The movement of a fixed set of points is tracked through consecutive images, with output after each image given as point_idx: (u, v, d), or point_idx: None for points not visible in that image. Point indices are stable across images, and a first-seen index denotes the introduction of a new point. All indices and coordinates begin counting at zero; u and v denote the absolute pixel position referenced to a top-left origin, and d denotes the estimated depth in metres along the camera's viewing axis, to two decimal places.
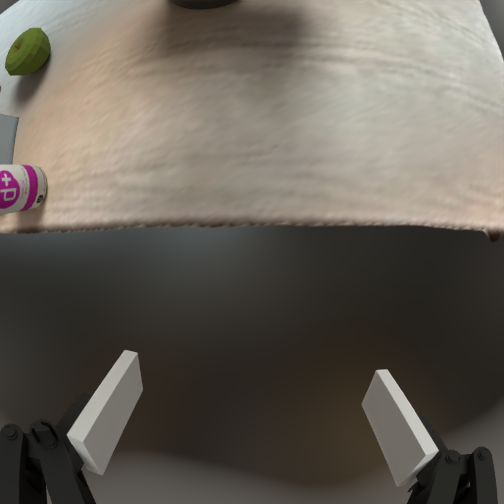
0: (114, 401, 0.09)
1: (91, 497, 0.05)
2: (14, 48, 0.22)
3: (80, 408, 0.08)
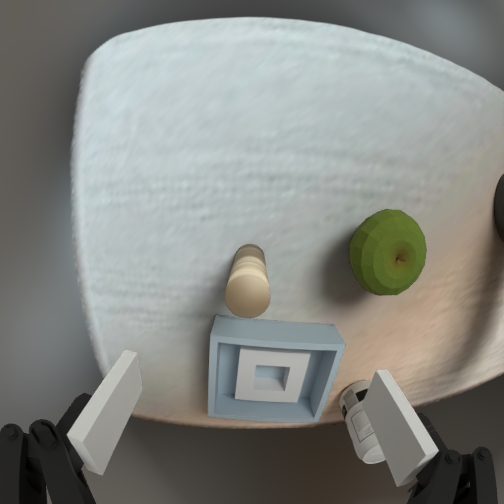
0: (114, 401, 0.09)
1: (91, 497, 0.05)
2: (391, 255, 0.28)
3: (80, 408, 0.08)
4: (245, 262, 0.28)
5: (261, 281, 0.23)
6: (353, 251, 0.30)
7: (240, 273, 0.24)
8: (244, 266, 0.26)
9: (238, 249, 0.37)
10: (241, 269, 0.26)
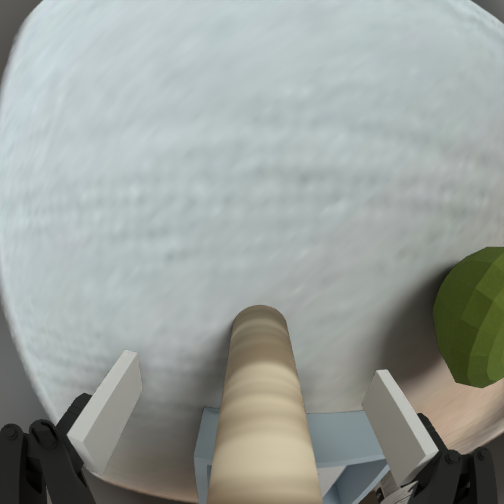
0: (114, 401, 0.09)
1: (91, 497, 0.05)
2: None
3: (80, 408, 0.08)
4: (256, 396, 0.10)
5: (305, 492, 0.06)
6: (458, 328, 0.12)
7: (245, 464, 0.07)
8: (254, 421, 0.09)
9: (238, 315, 0.19)
10: (247, 438, 0.08)
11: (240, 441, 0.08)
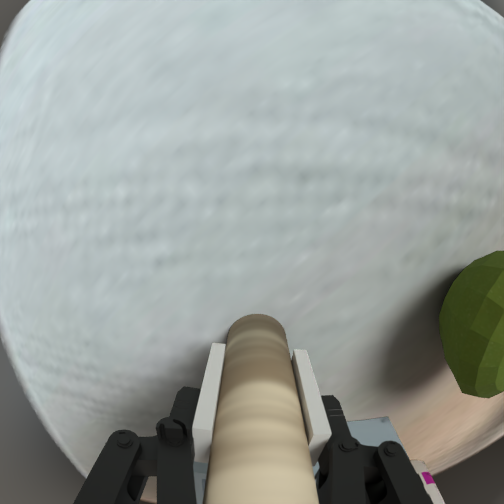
0: (219, 390, 0.12)
1: None
2: None
3: (186, 401, 0.11)
4: (252, 422, 0.09)
5: None
6: (468, 338, 0.11)
7: (239, 499, 0.05)
8: (250, 451, 0.07)
9: (233, 324, 0.18)
10: (242, 470, 0.06)
11: (234, 473, 0.06)
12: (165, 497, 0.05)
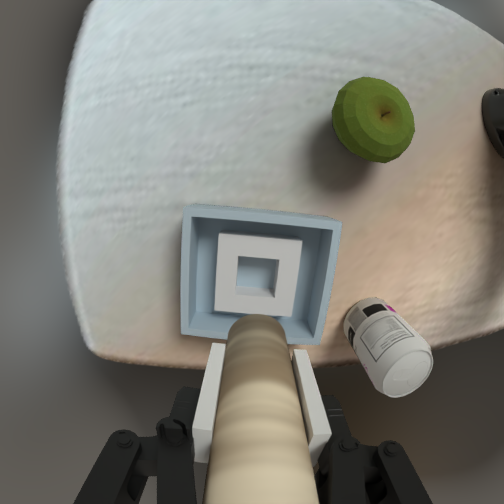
0: (219, 390, 0.12)
1: None
2: (374, 108, 0.24)
3: (186, 401, 0.11)
4: (251, 422, 0.09)
5: None
6: (334, 110, 0.27)
7: (239, 499, 0.05)
8: (250, 451, 0.07)
9: (233, 324, 0.18)
10: (241, 470, 0.06)
11: (234, 473, 0.06)
12: (165, 497, 0.05)
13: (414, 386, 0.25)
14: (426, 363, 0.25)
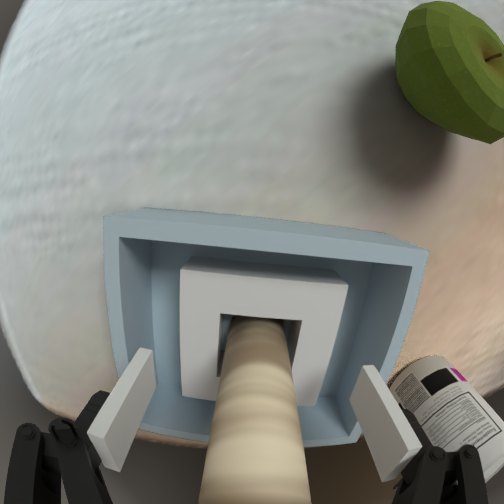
0: (132, 398, 0.10)
1: (107, 495, 0.06)
2: (476, 45, 0.07)
3: (97, 405, 0.09)
4: (249, 397, 0.10)
5: (293, 492, 0.06)
6: (409, 36, 0.10)
7: (235, 463, 0.07)
8: (246, 422, 0.09)
9: None
10: (238, 438, 0.08)
11: (232, 441, 0.08)
12: (74, 499, 0.04)
13: None
14: None
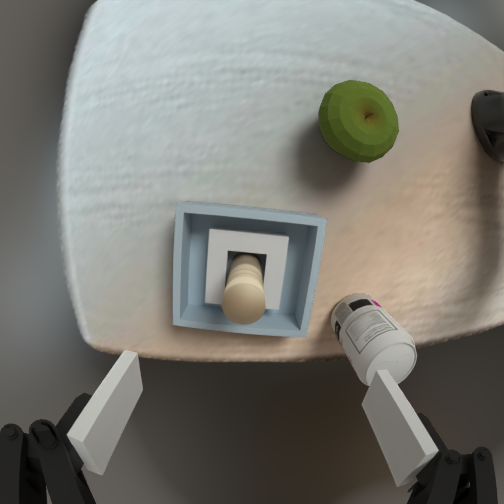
0: (114, 401, 0.09)
1: (91, 497, 0.05)
2: (358, 110, 0.26)
3: (80, 408, 0.08)
4: (241, 270, 0.29)
5: (257, 289, 0.24)
6: (320, 112, 0.28)
7: (236, 282, 0.25)
8: (240, 274, 0.27)
9: (234, 256, 0.38)
10: (237, 277, 0.27)
11: (235, 279, 0.27)
12: (58, 501, 0.03)
13: (398, 379, 0.27)
14: (410, 356, 0.27)
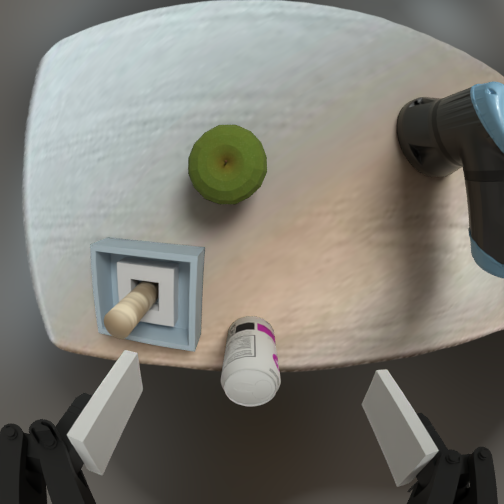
0: (114, 402, 0.09)
1: (91, 497, 0.05)
2: (215, 159, 0.32)
3: (80, 408, 0.08)
4: (126, 298, 0.35)
5: (122, 315, 0.31)
6: (188, 162, 0.35)
7: (113, 308, 0.32)
8: (121, 302, 0.34)
9: None
10: (117, 304, 0.33)
11: (116, 305, 0.33)
12: (58, 501, 0.03)
13: (263, 400, 0.33)
14: (268, 382, 0.33)
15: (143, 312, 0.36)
